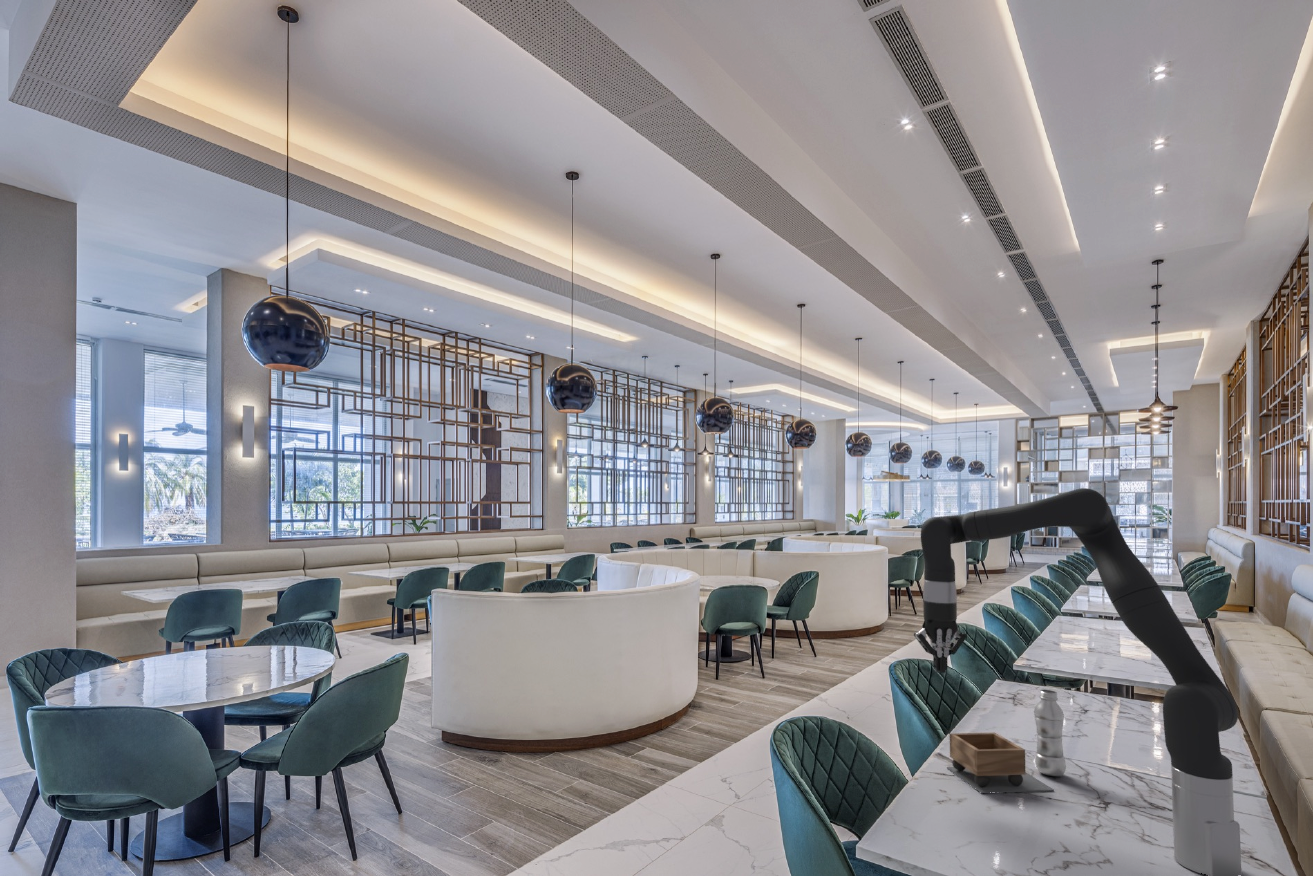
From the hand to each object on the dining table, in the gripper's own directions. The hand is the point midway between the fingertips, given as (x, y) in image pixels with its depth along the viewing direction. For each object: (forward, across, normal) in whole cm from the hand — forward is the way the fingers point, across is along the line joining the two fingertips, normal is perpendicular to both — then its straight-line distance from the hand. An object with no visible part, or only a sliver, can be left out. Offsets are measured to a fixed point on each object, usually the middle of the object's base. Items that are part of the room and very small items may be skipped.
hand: (940, 672), depth 172 cm
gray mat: (+26, +14, 0) cm, 29 cm away
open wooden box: (+26, +12, 0) cm, 28 cm away
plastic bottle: (+26, +30, +2) cm, 39 cm away
